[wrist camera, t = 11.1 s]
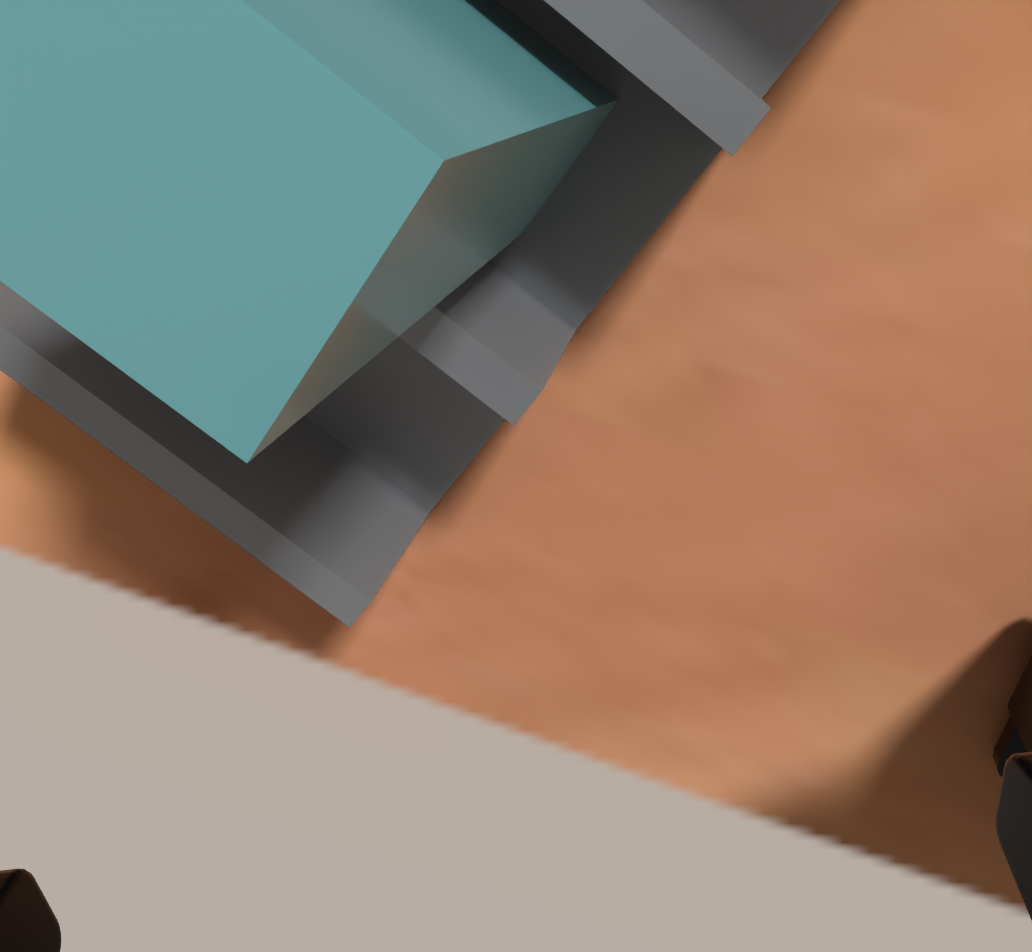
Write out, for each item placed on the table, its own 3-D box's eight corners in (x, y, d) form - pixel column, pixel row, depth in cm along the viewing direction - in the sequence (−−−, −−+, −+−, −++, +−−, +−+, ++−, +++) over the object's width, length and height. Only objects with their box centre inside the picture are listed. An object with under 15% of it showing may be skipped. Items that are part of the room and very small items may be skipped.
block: (618, 99, 17) (444, 161, 7) (523, 231, 19) (246, 462, 8) (353, -117, 17) (-306, -432, 6) (273, 34, 18) (-385, -6, 7)
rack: (992, -193, 15) (1095, -292, 11) (421, 520, 23) (349, 627, 18) (500, -636, 15) (403, -930, 10) (69, 254, 22) (-93, 301, 17)
